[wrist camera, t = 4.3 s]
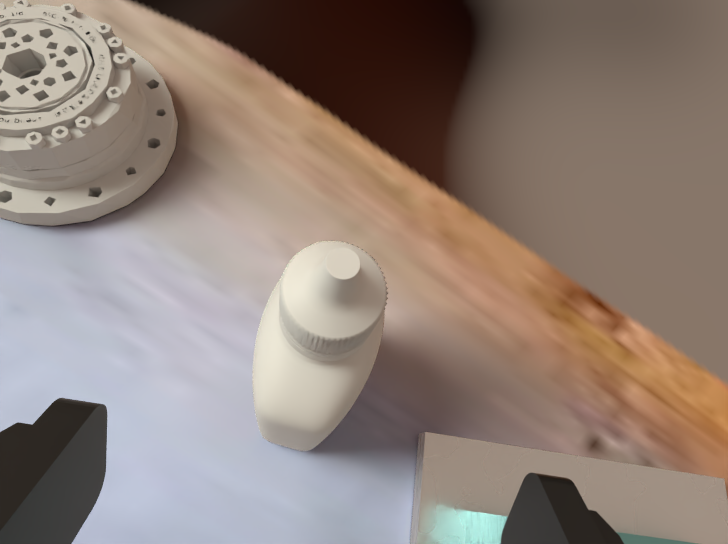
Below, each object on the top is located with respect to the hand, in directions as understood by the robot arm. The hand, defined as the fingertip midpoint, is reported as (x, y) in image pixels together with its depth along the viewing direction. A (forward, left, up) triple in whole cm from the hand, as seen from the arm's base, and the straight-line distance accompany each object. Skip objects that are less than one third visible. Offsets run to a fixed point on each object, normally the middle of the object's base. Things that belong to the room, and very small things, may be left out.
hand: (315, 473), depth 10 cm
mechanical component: (+8, +17, -11) cm, 22 cm away
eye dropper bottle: (+4, +1, -11) cm, 11 cm away
